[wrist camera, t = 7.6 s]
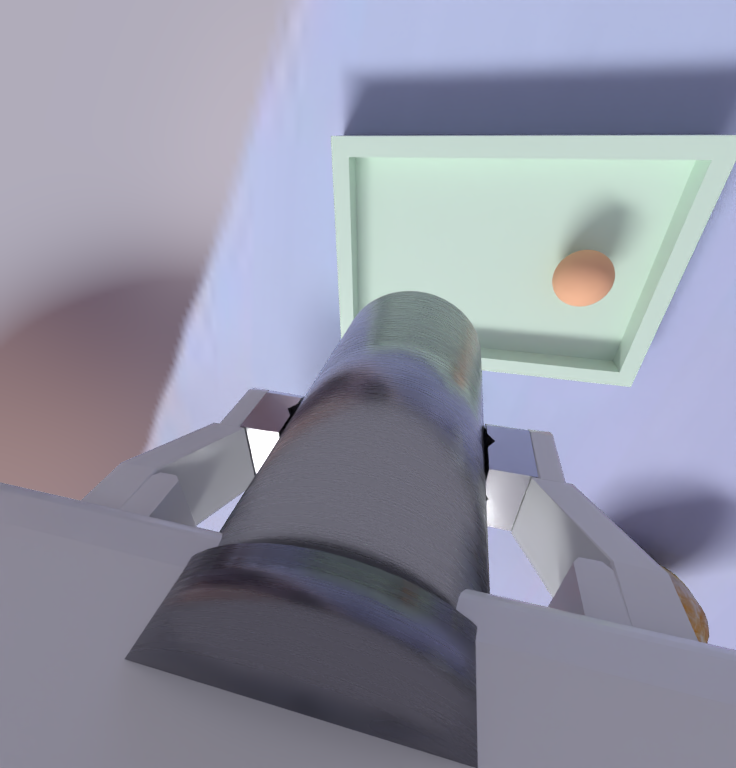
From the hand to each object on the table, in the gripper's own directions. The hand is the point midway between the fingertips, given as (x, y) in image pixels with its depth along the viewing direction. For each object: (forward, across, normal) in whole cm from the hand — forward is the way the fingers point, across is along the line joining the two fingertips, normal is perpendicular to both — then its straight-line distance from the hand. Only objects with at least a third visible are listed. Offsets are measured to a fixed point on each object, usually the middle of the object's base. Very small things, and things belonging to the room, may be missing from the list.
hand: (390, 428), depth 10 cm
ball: (+18, -8, +1) cm, 20 cm away
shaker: (+4, 0, 0) cm, 4 cm away
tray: (+19, -4, +1) cm, 19 cm away
